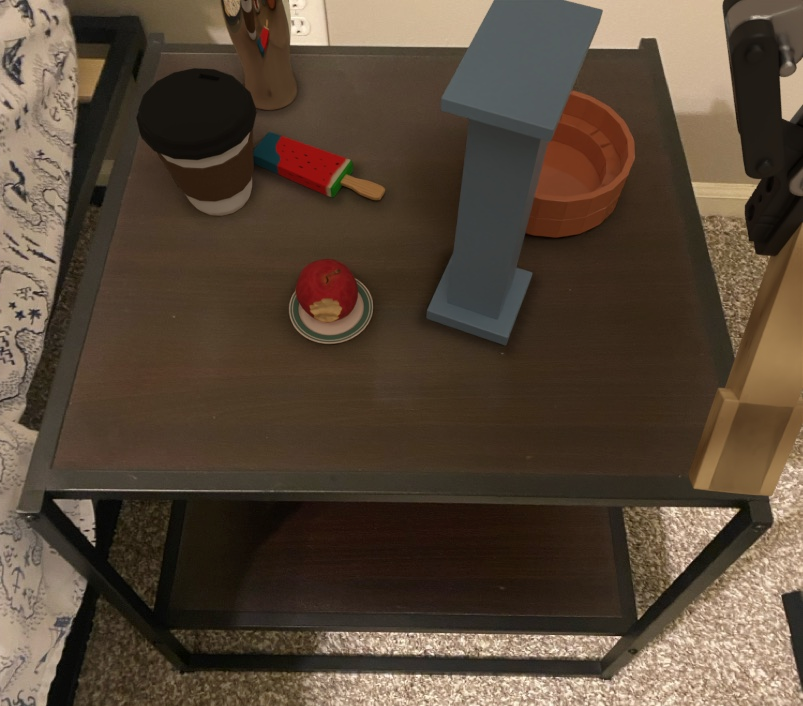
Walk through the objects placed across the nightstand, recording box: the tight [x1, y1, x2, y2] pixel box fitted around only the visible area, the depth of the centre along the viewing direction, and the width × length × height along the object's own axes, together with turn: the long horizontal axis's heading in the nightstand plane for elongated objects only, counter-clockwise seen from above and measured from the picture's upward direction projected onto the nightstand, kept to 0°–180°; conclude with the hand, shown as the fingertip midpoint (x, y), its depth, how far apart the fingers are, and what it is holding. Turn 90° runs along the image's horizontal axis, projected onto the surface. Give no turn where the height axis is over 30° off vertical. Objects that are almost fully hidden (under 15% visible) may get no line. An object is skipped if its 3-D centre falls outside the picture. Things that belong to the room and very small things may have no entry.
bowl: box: [525, 89, 636, 239], centre depth 74 cm, size 16×16×6 cm
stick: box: [687, 222, 803, 497], centre depth 29 cm, size 18×4×2 cm
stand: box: [425, 0, 604, 346], centre depth 57 cm, size 12×8×28 cm, turn 158°
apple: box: [288, 258, 374, 345], centre depth 65 cm, size 8×8×6 cm
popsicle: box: [253, 131, 386, 201], centre depth 76 cm, size 4×2×15 cm
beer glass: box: [219, 0, 298, 111], centre depth 76 cm, size 7×7×15 cm
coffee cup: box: [135, 67, 258, 217], centre depth 70 cm, size 11×11×12 cm
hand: (799, 240), depth 29 cm, fingers closed on stick, 2 cm apart
